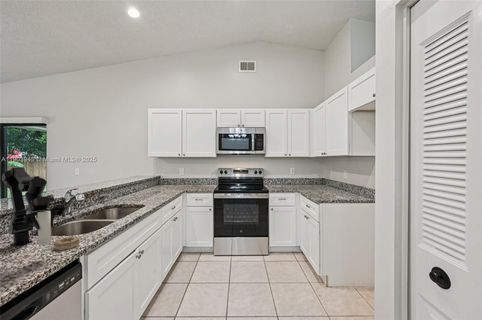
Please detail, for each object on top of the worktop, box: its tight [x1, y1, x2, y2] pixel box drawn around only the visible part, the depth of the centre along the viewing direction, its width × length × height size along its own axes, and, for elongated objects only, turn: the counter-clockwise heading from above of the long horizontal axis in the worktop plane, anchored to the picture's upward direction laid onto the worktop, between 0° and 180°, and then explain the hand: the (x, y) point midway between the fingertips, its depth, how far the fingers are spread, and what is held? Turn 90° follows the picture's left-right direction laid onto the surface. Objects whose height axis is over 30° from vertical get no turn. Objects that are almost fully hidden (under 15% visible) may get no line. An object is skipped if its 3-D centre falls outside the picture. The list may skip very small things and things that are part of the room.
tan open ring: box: [53, 236, 80, 251], centre depth 124 cm, size 10×10×3 cm
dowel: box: [37, 211, 52, 246], centre depth 110 cm, size 4×4×14 cm
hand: (45, 227), depth 109 cm, fingers closed on dowel, 4 cm apart
